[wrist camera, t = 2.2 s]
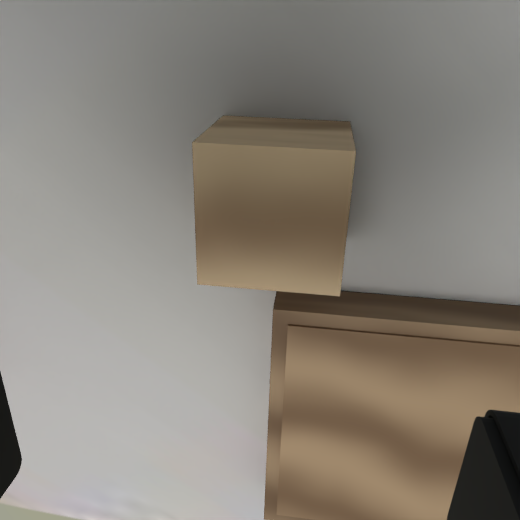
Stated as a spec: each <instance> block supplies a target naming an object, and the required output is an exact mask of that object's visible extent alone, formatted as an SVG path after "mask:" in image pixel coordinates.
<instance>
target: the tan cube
mask: <svg viewBox="0 0 520 520" xmlns="http://www.w3.org/2000/svg"><path fill="white" fill-rule="evenodd" d="M192 150H193V178H194V205H195V233H196V260H197V284H199V285H211V286H223V287H235V288H247V289H259V290H270V291H282V292H294V293H306V294H318V295H330V296H340V291H341V282H342V273H343V264H344V255H345V246H346V237H347V228H348V219H349V210H350V201H351V192H352V183H353V174H354V165H355V156H356V148H355V144H354V139H353V134H352V129H351V124H350V122H349V121H328V120H307V119H286V118H265V117H244V116H222V117H221V118H220V119H219V120H217V121H216V122H215V123H214V124H213V125H212V126H211V127H209V128H208V129H207V130H206V131H205V132H204V133H202V134H201V135H200V136H199V137H198V138H197V139H196V140H194V141H193V142H192Z"/></svg>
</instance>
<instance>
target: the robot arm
mask: <svg viewBox="0 0 520 520" xmlns="http://www.w3.org/2000/svg"><path fill="white" fill-rule="evenodd" d="M21 460H22V458H21V452H20V448H19V445H18V441H17V437H16V433H15V429H14V425H13V421H12V417H11V413H10V409H9V405H8V401H7V397H6V393H5V389H4V385H3V381H2V377H1V373H0V498H1V497H2V495H3V494H4V493H5V491H6V490H7V488H8V487H9V486H10V484H11V483H12V481H13V480H14V478H15V477H16V475H17V474H18V472H19V469H20V466H21ZM447 520H520V413H517V412H508V411H500V410H488V411H487V412H486V414H485V416H484V417H480V416H478V417H476V418H475V420H474V423H473V427H472V430H471V434H470V437H469V441H468V445H467V448H466V452H465V455H464V459H463V462H462V466H461V469H460V473H459V476H458V480H457V483H456V487H455V490H454V494H453V497H452V501H451V504H450V508H449V512H448V516H447Z"/></svg>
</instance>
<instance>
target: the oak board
mask: <svg viewBox="0 0 520 520" xmlns="http://www.w3.org/2000/svg"><path fill="white" fill-rule="evenodd" d="M488 410H500V411H508V412H517V413H520V306H515V305H503V304H491V303H479V302H467V301H455V300H443V299H431V298H419V297H407V296H395V295H383V294H371V293H359V292H347V291H340V296H330V295H318V294H306V293H294V292H282V291H277V292H276V297H275V303H274V308H273V325H272V348H271V371H270V394H269V416H268V439H267V462H266V485H265V507H264V519H265V520H447V516H448V512H449V508H450V504H451V501H452V497H453V494H454V490H455V487H456V483H457V480H458V476H459V473H460V469H461V466H462V462H463V459H464V455H465V452H466V448H467V445H468V441H469V437H470V434H471V430H472V427H473V423H474V420H475V418H476V417H478V416H480V417H484V416H485V414H486V412H487V411H488Z"/></svg>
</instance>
